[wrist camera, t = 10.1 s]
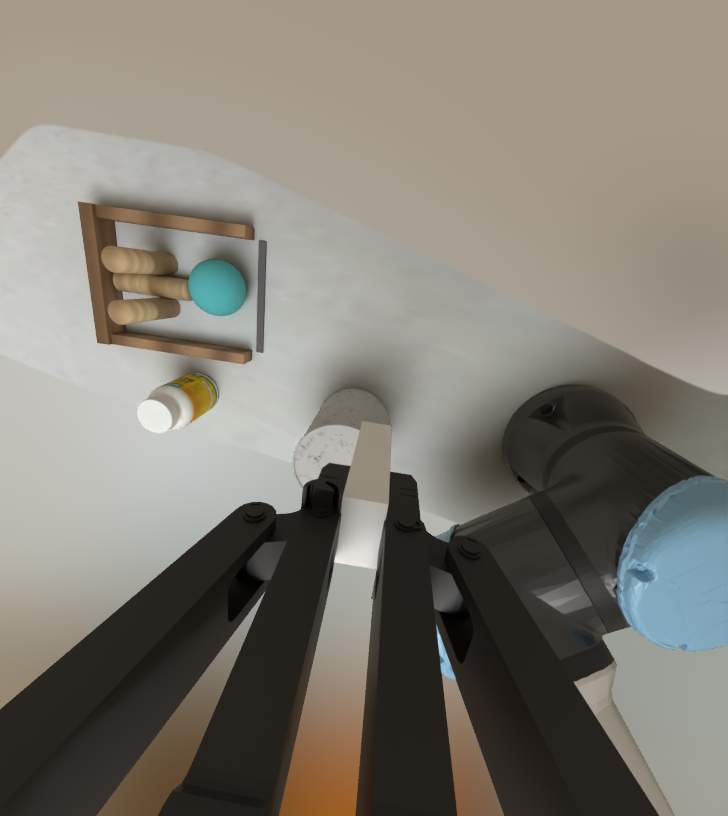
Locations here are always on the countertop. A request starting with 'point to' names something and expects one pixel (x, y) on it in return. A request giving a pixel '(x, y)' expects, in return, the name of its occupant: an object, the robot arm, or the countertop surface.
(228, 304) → the ball
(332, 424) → the speckled white cylinder
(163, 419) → the supplement bottle
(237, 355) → the frame
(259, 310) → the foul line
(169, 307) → the pin
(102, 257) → the pin
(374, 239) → the countertop surface
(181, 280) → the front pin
